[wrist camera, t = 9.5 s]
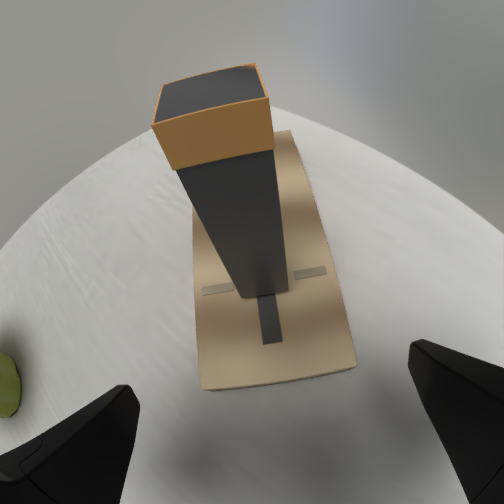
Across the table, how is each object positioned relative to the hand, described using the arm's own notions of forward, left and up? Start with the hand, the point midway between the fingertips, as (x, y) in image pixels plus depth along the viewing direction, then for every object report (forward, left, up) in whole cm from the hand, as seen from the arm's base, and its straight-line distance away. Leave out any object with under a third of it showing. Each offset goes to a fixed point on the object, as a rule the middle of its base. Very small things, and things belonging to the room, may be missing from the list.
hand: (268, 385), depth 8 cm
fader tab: (+3, +5, -5) cm, 8 cm away
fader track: (+4, +9, -8) cm, 12 cm away
